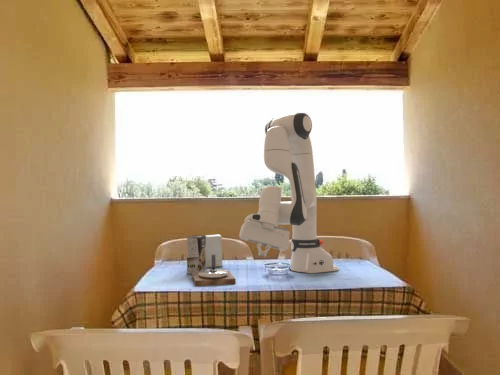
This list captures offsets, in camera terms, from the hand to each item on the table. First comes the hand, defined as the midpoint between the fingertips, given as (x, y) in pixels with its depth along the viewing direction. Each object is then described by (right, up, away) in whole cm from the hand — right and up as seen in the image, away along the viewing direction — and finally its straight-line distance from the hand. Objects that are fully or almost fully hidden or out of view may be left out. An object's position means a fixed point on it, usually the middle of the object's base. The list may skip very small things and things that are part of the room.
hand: (262, 255), depth 173 cm
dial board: (-20, -12, +13) cm, 27 cm away
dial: (-20, -10, +12) cm, 25 cm away
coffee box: (-29, -12, +30) cm, 43 cm away
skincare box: (-22, -12, +44) cm, 50 cm away
